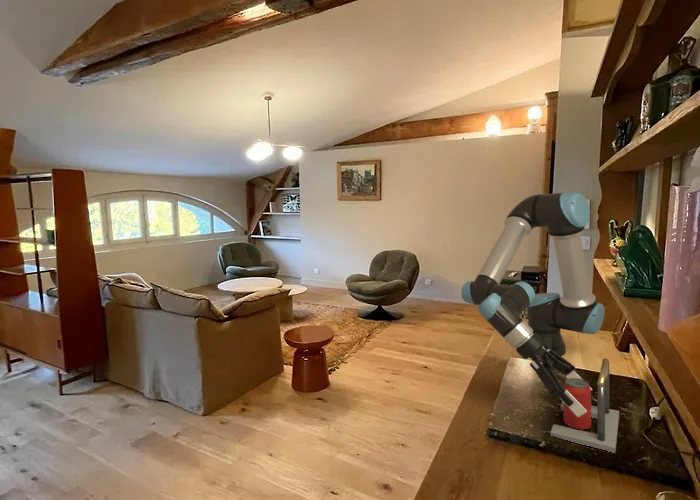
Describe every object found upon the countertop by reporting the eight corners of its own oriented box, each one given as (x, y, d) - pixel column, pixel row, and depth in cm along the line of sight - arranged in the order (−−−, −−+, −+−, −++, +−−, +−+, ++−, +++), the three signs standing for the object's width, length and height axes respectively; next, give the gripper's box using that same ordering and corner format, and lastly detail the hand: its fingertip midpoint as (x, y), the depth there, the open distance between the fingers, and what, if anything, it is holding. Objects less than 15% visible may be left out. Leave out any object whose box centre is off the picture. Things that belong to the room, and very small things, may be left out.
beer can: (593, 432, 106) (593, 388, 105) (565, 429, 108) (564, 386, 107) (588, 419, 112) (588, 378, 111) (562, 417, 115) (561, 376, 113)
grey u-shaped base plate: (563, 404, 121) (562, 399, 121) (619, 416, 113) (619, 410, 113) (550, 437, 105) (550, 432, 105) (615, 453, 97) (615, 448, 97)
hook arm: (602, 415, 114) (602, 357, 112) (609, 416, 113) (609, 358, 111) (597, 445, 101) (596, 380, 99) (604, 447, 100) (604, 382, 98)
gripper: (525, 335, 128) (580, 391, 120) (503, 363, 107) (567, 432, 100) (543, 320, 124) (601, 377, 117) (523, 346, 104) (592, 416, 97)
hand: (585, 402), depth 108 cm, fingers open, 13 cm apart
